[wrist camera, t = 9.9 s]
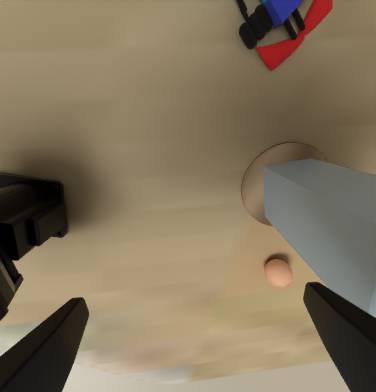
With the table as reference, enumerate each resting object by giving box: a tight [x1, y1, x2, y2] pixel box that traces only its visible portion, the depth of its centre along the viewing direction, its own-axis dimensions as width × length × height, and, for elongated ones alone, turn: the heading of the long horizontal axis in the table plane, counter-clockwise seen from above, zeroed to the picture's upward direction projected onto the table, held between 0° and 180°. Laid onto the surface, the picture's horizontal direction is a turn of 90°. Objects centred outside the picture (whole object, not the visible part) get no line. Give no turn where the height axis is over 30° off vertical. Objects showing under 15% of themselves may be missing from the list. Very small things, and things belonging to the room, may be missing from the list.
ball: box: [264, 259, 293, 287], centre depth 22 cm, size 3×3×3 cm
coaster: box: [241, 143, 328, 226], centre depth 20 cm, size 9×9×1 cm
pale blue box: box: [263, 158, 376, 318], centre depth 14 cm, size 5×6×12 cm
